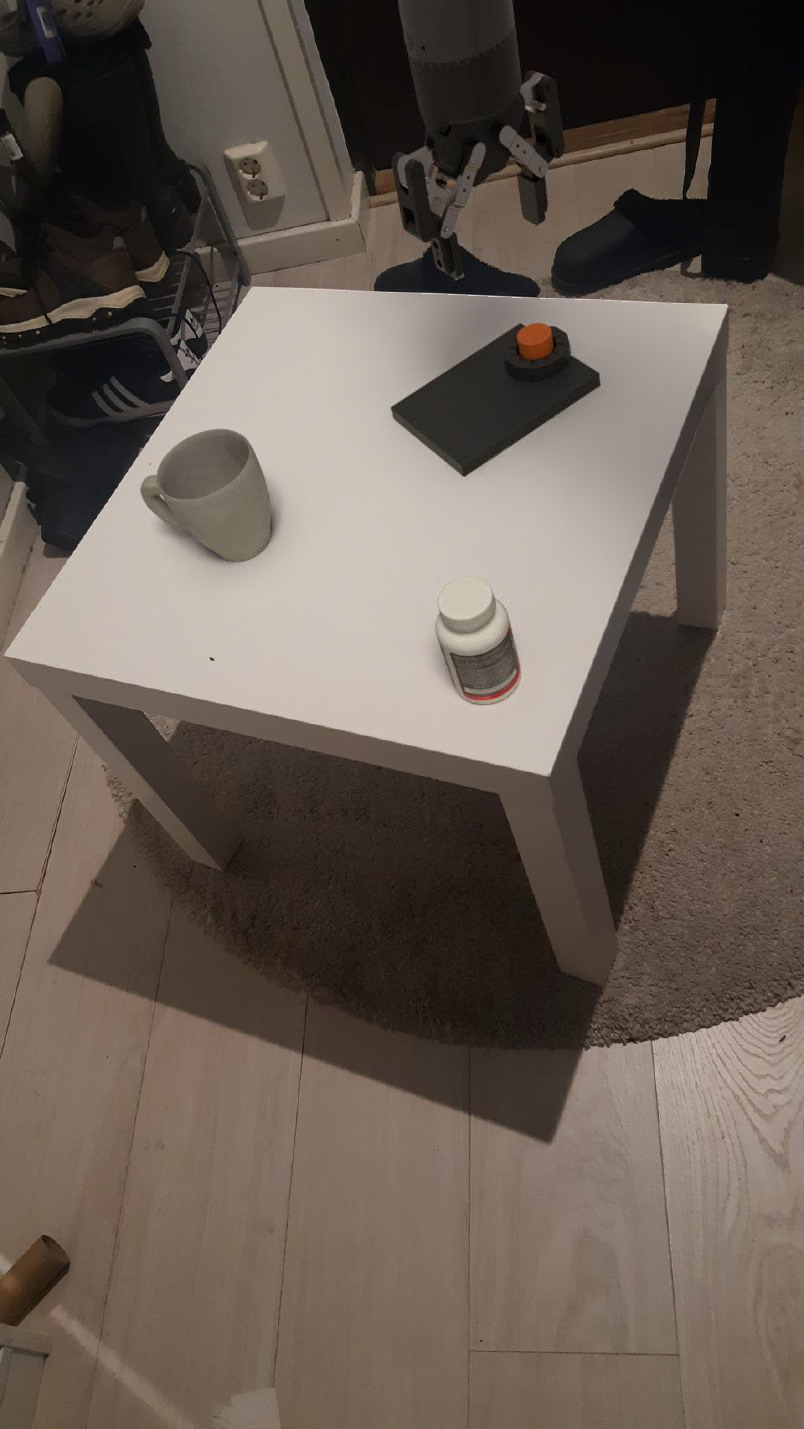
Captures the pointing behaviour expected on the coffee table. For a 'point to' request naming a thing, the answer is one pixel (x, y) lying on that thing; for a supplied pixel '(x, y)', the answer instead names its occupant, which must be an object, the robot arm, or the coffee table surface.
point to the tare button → (535, 341)
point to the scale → (494, 399)
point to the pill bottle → (477, 641)
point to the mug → (213, 493)
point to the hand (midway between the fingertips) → (494, 246)
